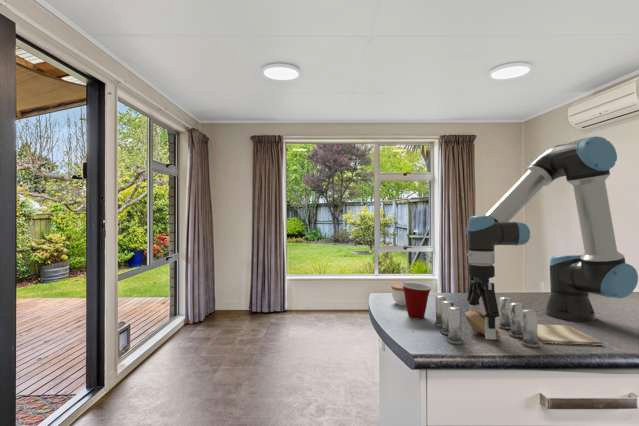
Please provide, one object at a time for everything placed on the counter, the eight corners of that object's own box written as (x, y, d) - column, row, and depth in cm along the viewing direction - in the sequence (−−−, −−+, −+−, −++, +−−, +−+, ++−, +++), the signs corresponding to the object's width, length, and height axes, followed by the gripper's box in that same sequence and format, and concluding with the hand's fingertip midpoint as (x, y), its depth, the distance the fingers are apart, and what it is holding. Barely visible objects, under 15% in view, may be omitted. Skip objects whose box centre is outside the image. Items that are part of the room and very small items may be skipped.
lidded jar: (421, 306, 142) (421, 283, 142) (399, 307, 139) (399, 285, 139) (408, 300, 152) (408, 279, 153) (387, 301, 149) (387, 280, 150)
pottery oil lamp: (485, 343, 98) (485, 319, 99) (458, 330, 110) (458, 308, 110) (509, 340, 101) (509, 317, 101) (481, 328, 112) (480, 307, 112)
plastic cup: (433, 322, 119) (433, 288, 120) (402, 320, 121) (402, 286, 122) (430, 313, 130) (429, 282, 130) (401, 312, 132) (401, 281, 132)
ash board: (567, 328, 112) (567, 325, 112) (602, 345, 97) (602, 342, 97) (517, 326, 114) (517, 323, 114) (543, 343, 98) (543, 340, 98)
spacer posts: (509, 326, 115) (509, 296, 115) (542, 348, 94) (542, 312, 95) (433, 323, 117) (433, 294, 118) (449, 344, 97) (449, 309, 97)
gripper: (457, 259, 119) (457, 319, 119) (483, 269, 95) (484, 345, 94) (479, 260, 119) (479, 320, 118) (511, 269, 94) (512, 346, 93)
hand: (481, 331), depth 106 cm, fingers open, 13 cm apart
